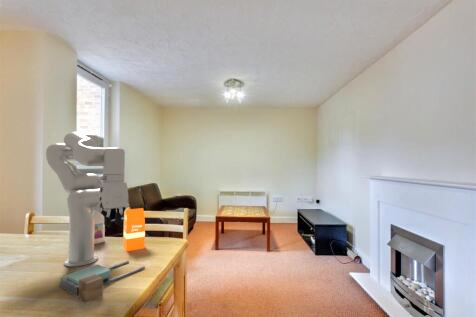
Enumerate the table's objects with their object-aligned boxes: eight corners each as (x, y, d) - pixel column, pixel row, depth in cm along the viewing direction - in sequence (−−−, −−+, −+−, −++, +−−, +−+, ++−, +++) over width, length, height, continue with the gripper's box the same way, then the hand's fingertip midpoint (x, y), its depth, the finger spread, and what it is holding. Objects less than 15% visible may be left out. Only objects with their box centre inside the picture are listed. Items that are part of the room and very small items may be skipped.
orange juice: (144, 248, 127) (145, 209, 128) (126, 251, 122) (126, 210, 123) (141, 244, 134) (141, 207, 134) (123, 247, 129) (124, 208, 129)
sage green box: (65, 286, 87) (66, 274, 87) (97, 274, 96) (97, 264, 96) (78, 293, 82) (78, 281, 82) (110, 280, 91) (110, 269, 92)
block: (78, 298, 80) (79, 279, 80) (94, 291, 84) (94, 273, 84) (86, 303, 77) (86, 283, 77) (102, 296, 81) (102, 277, 81)
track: (60, 286, 87) (60, 278, 87) (127, 262, 109) (127, 255, 109) (76, 296, 80) (76, 287, 80) (144, 268, 102) (144, 261, 102)
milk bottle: (92, 240, 140) (93, 204, 141) (106, 239, 141) (107, 204, 141) (85, 244, 132) (86, 207, 133) (100, 244, 133) (101, 206, 134)
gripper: (97, 180, 89) (96, 231, 88) (138, 178, 102) (137, 222, 102) (87, 179, 93) (85, 228, 92) (127, 177, 107) (126, 220, 106)
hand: (112, 225), depth 97 cm, fingers open, 3 cm apart
